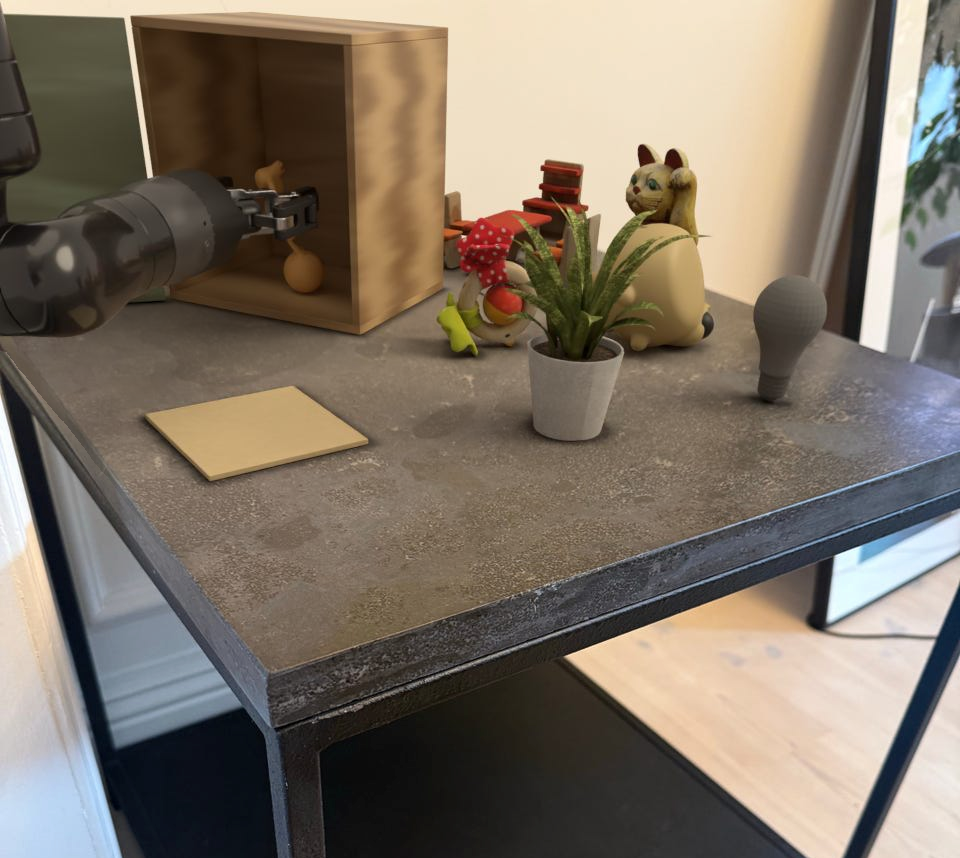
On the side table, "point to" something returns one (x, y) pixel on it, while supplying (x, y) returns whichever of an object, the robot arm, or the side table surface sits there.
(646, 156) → the decorative figurine
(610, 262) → the house plant
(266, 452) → the mat
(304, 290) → the figurine
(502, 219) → the dollhouse furniture set
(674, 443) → the side table surface
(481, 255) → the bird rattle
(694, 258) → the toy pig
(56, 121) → the dark green flat panel
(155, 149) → the cupboard
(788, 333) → the light bulb
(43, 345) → the side table surface
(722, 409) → the side table surface
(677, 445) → the side table surface
